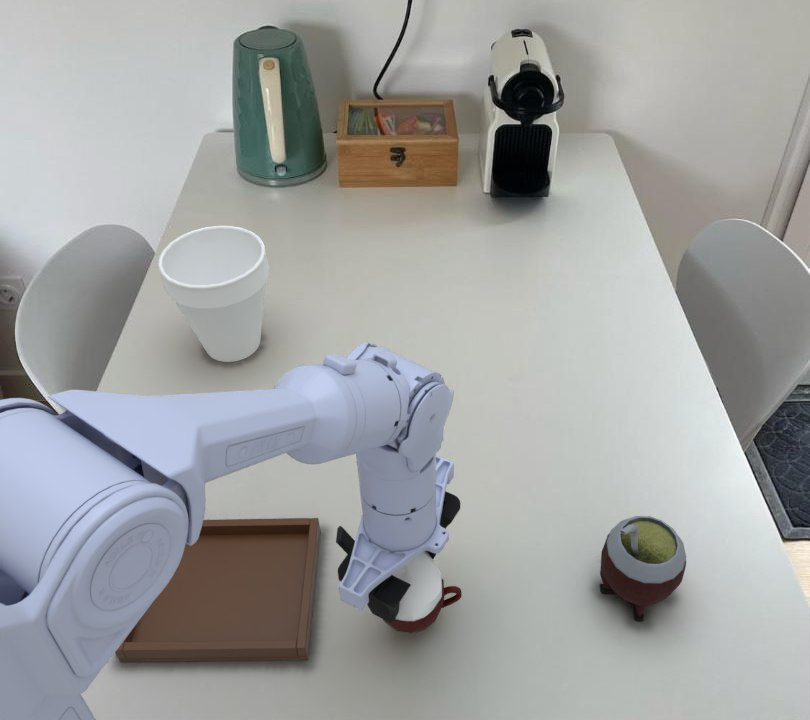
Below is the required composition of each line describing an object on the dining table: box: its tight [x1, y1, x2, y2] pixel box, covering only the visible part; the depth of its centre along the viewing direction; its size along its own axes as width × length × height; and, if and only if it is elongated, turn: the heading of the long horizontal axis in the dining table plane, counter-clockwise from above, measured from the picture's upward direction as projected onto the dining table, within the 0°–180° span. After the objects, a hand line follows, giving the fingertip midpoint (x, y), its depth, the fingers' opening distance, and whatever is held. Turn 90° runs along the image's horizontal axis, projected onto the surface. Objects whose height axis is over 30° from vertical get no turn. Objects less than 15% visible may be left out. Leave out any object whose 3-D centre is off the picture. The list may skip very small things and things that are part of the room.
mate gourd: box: [599, 515, 687, 623], centre depth 69 cm, size 8×8×15 cm
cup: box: [157, 225, 270, 363], centre depth 97 cm, size 12×12×14 cm
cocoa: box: [335, 525, 463, 634], centre depth 68 cm, size 10×6×12 cm, turn 66°
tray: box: [114, 517, 322, 663], centre depth 75 cm, size 17×14×2 cm
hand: (403, 584), depth 70 cm, fingers closed on cocoa, 6 cm apart
